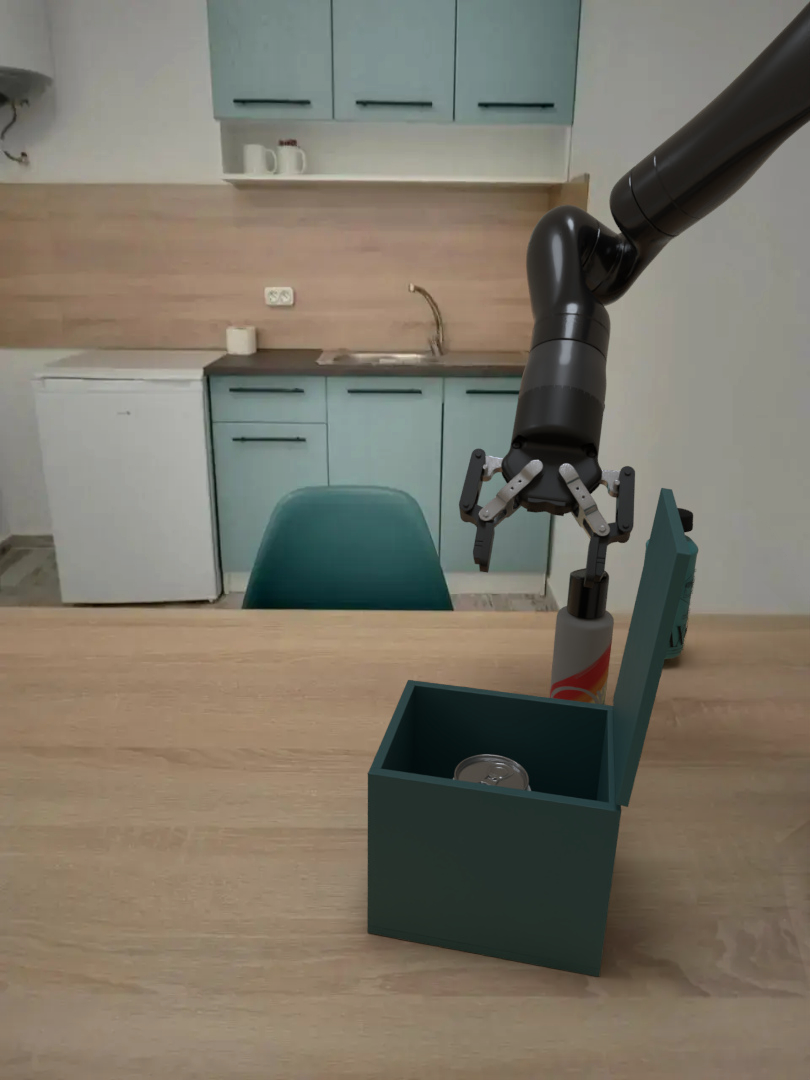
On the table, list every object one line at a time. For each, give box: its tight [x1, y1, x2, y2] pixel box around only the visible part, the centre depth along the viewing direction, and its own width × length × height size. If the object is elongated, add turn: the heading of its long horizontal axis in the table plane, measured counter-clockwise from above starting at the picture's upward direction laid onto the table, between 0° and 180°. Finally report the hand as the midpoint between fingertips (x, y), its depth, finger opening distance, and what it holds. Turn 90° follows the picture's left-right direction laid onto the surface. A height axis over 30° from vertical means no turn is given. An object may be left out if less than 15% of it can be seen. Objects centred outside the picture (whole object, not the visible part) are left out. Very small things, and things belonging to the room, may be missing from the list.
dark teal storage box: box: [366, 679, 622, 978], centre depth 66 cm, size 18×14×15 cm
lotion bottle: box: [548, 567, 615, 705], centre depth 85 cm, size 6×6×20 cm
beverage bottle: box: [643, 507, 699, 660], centre depth 103 cm, size 6×7×20 cm
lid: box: [612, 487, 691, 808], centre depth 58 cm, size 18×14×1 cm
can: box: [453, 754, 531, 791], centre depth 64 cm, size 6×6×12 cm
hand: (535, 576), depth 67 cm, fingers open, 8 cm apart
